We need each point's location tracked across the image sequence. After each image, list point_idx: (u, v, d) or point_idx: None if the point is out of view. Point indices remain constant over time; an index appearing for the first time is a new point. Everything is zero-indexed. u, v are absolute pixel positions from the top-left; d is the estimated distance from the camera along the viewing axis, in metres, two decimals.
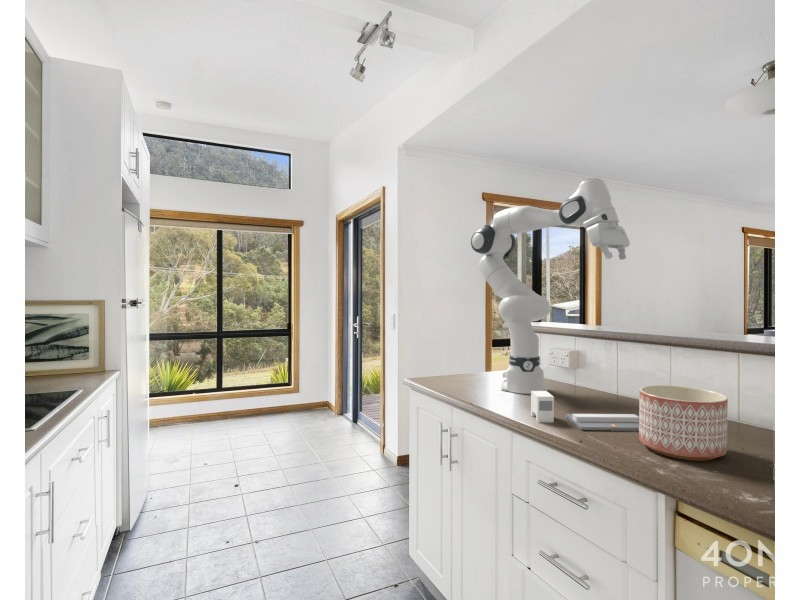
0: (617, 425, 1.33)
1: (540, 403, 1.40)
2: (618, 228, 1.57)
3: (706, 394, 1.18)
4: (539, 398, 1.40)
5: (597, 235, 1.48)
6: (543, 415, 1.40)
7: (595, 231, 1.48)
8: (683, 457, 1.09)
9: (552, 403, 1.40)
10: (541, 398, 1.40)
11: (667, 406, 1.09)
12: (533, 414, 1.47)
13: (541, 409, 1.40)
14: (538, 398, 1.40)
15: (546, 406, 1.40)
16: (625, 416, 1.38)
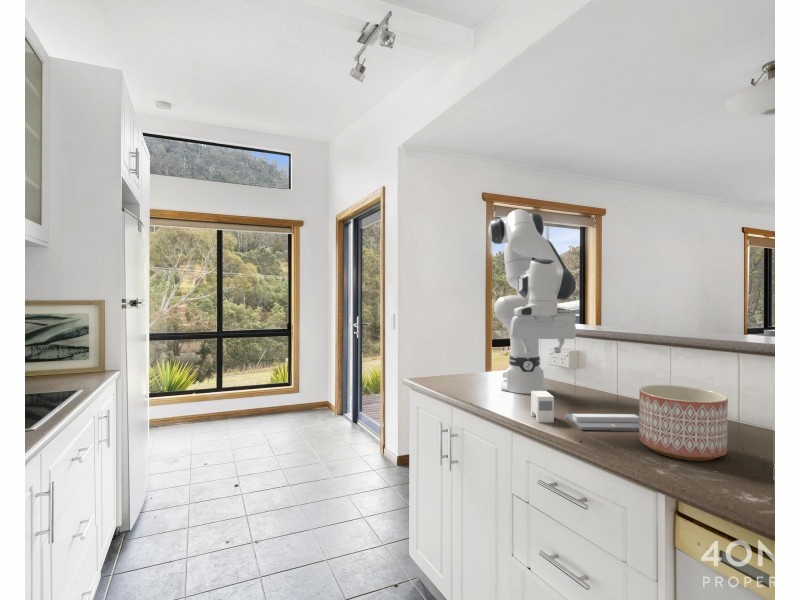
0: (617, 425, 1.33)
1: (540, 403, 1.40)
2: (559, 319, 1.41)
3: (706, 394, 1.18)
4: (539, 398, 1.40)
5: (512, 330, 1.42)
6: (543, 415, 1.40)
7: (512, 324, 1.43)
8: (683, 457, 1.09)
9: (552, 403, 1.40)
10: (541, 398, 1.40)
11: (667, 406, 1.09)
12: (533, 414, 1.47)
13: (541, 409, 1.40)
14: (538, 398, 1.40)
15: (546, 406, 1.40)
16: (625, 416, 1.38)
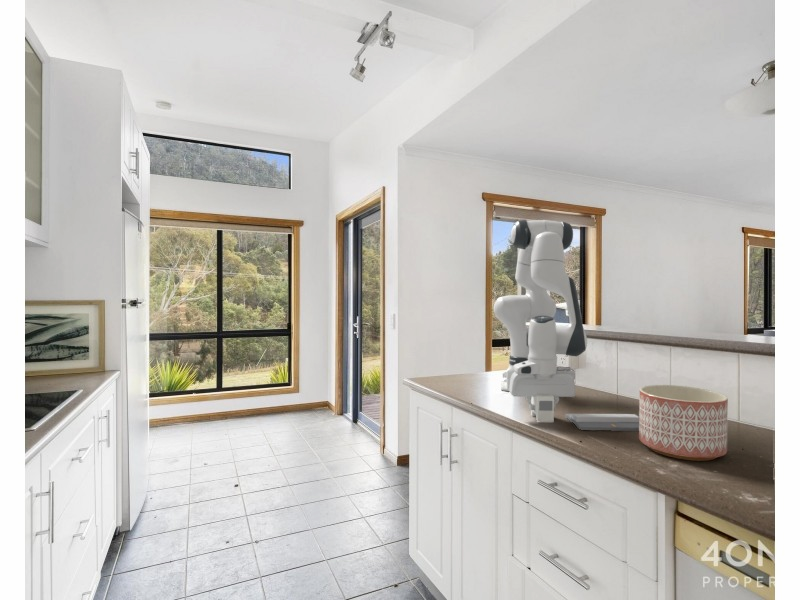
0: (617, 425, 1.33)
1: (540, 403, 1.40)
2: (559, 377, 1.42)
3: (706, 394, 1.18)
4: (539, 398, 1.40)
5: (511, 387, 1.43)
6: (543, 415, 1.40)
7: (511, 382, 1.43)
8: (683, 457, 1.09)
9: (552, 403, 1.40)
10: (541, 398, 1.40)
11: (667, 406, 1.09)
12: (533, 414, 1.47)
13: (542, 409, 1.40)
14: (538, 398, 1.40)
15: (546, 406, 1.40)
16: (625, 416, 1.38)
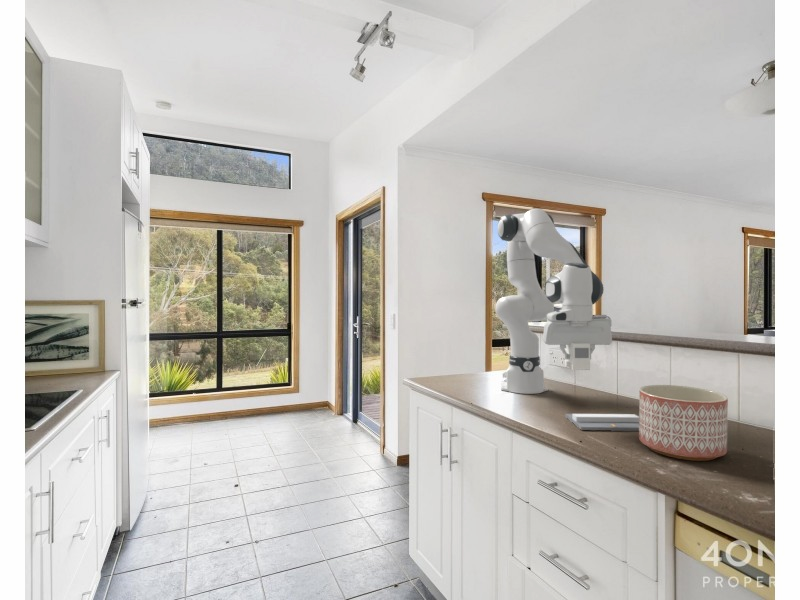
0: (617, 425, 1.33)
1: (576, 350, 1.36)
2: (595, 324, 1.38)
3: (706, 394, 1.18)
4: (575, 345, 1.36)
5: (545, 335, 1.39)
6: (579, 363, 1.36)
7: (546, 330, 1.40)
8: (683, 457, 1.09)
9: (588, 350, 1.36)
10: (577, 345, 1.36)
11: (667, 406, 1.09)
12: (567, 364, 1.43)
13: (577, 356, 1.36)
14: (574, 345, 1.36)
15: (582, 354, 1.36)
16: (625, 416, 1.38)
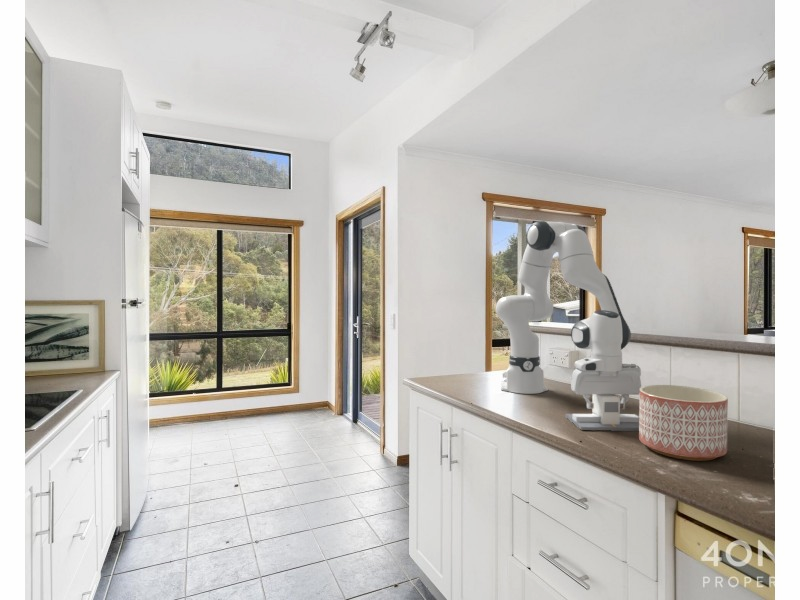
0: (617, 425, 1.33)
1: (605, 404, 1.34)
2: (624, 374, 1.36)
3: (706, 394, 1.18)
4: (604, 399, 1.34)
5: (574, 385, 1.37)
6: (609, 417, 1.34)
7: (574, 379, 1.38)
8: (683, 457, 1.09)
9: (618, 405, 1.34)
10: (606, 399, 1.34)
11: (667, 406, 1.09)
12: None
13: (607, 410, 1.34)
14: (603, 399, 1.34)
15: (611, 408, 1.34)
16: (625, 416, 1.38)
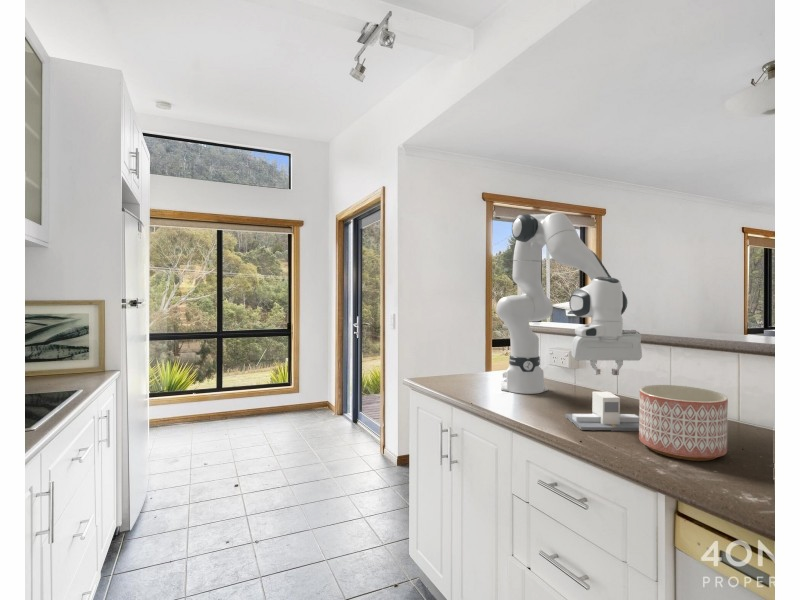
0: (617, 425, 1.33)
1: (605, 404, 1.34)
2: (625, 340, 1.36)
3: (706, 394, 1.18)
4: (604, 399, 1.34)
5: (574, 351, 1.37)
6: (609, 417, 1.34)
7: (574, 345, 1.37)
8: (683, 457, 1.09)
9: (618, 405, 1.34)
10: (606, 399, 1.34)
11: (667, 406, 1.09)
12: None
13: (607, 410, 1.34)
14: (603, 399, 1.34)
15: (611, 408, 1.34)
16: (625, 416, 1.38)
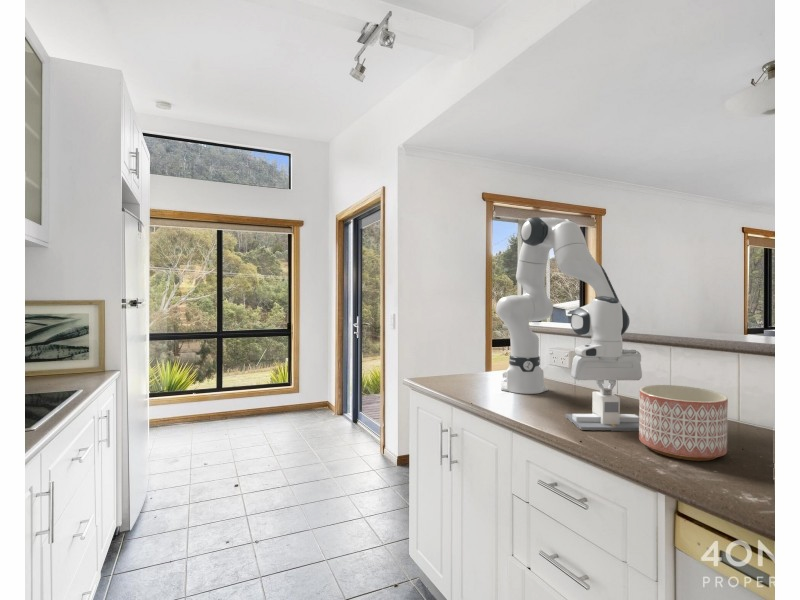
0: (617, 425, 1.33)
1: (606, 404, 1.34)
2: (624, 360, 1.36)
3: (706, 394, 1.18)
4: (604, 399, 1.34)
5: (574, 370, 1.37)
6: (609, 417, 1.34)
7: (574, 365, 1.38)
8: (683, 457, 1.09)
9: (618, 405, 1.34)
10: (607, 399, 1.34)
11: (667, 406, 1.09)
12: None
13: (607, 410, 1.34)
14: (603, 399, 1.34)
15: (611, 408, 1.34)
16: (625, 416, 1.38)
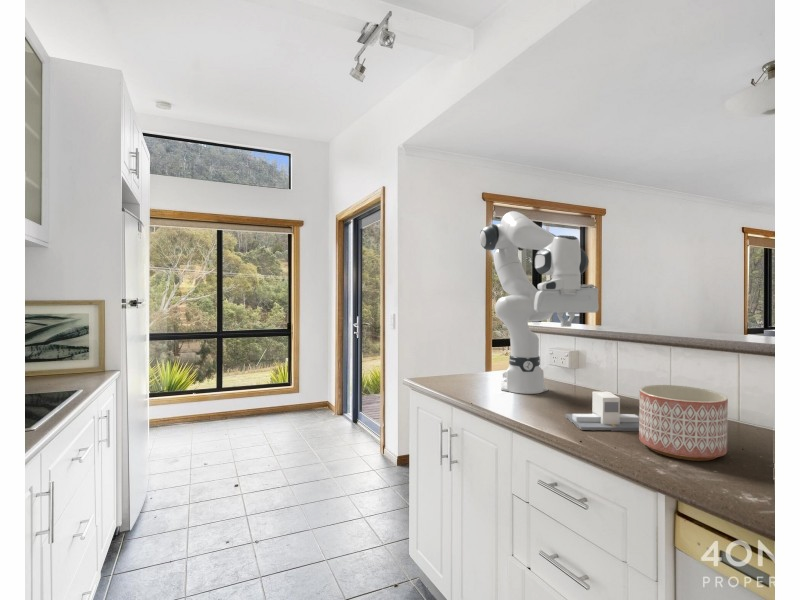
0: (617, 425, 1.33)
1: (605, 404, 1.34)
2: (582, 293, 1.46)
3: (706, 394, 1.18)
4: (604, 399, 1.34)
5: (536, 304, 1.47)
6: (609, 417, 1.34)
7: (536, 298, 1.47)
8: (683, 457, 1.09)
9: (618, 405, 1.34)
10: (606, 399, 1.34)
11: (667, 406, 1.09)
12: None
13: (607, 410, 1.34)
14: (603, 399, 1.34)
15: (611, 408, 1.34)
16: (625, 416, 1.38)
